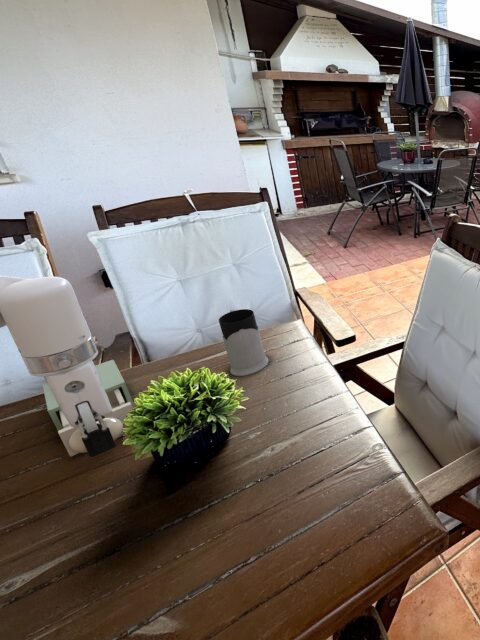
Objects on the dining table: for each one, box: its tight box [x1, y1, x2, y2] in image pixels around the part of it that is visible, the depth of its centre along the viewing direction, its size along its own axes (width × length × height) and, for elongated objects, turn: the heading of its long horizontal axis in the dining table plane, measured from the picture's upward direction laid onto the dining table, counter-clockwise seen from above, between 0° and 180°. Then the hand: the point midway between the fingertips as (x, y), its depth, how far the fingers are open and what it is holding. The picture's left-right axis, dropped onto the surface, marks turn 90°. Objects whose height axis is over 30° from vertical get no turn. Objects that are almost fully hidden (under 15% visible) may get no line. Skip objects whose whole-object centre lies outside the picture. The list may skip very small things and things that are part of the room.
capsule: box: [69, 417, 123, 454], centre depth 68 cm, size 7×4×4 cm
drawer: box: [57, 388, 133, 457], centre depth 82 cm, size 19×10×6 cm, turn 51°
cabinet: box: [41, 359, 135, 432], centre depth 89 cm, size 14×12×8 cm
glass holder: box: [218, 308, 269, 377], centre depth 106 cm, size 9×14×15 cm, turn 42°
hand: (100, 442), depth 69 cm, fingers closed on capsule, 4 cm apart
